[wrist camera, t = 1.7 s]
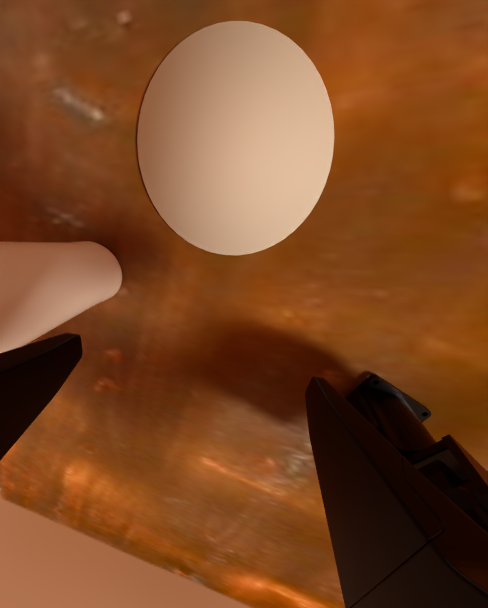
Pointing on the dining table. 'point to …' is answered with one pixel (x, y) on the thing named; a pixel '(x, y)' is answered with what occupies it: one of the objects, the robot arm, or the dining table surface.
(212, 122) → the cream flat disc
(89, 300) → the drinking glass
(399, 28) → the dining table surface
